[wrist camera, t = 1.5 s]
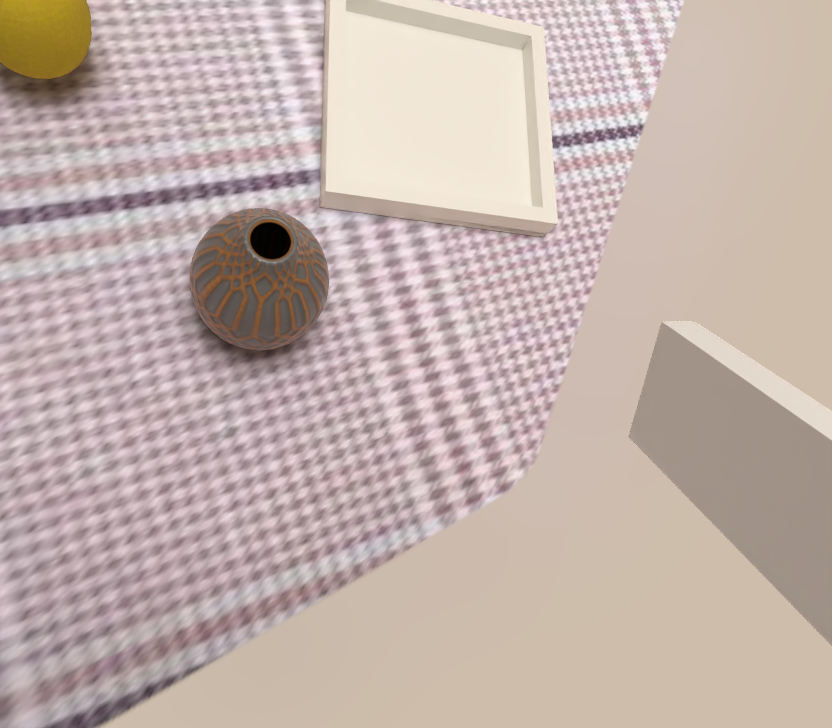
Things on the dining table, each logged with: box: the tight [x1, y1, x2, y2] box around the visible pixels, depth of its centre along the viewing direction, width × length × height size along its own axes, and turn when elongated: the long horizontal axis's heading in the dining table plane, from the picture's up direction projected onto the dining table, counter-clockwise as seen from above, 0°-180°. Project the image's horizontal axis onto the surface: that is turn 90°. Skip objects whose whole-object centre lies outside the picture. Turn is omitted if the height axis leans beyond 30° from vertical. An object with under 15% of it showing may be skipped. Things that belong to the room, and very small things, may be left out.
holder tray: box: [320, 0, 558, 237], centre depth 44 cm, size 15×15×2 cm
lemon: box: [0, 0, 92, 79], centre depth 34 cm, size 6×6×8 cm
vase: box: [190, 208, 329, 350], centre depth 34 cm, size 7×7×9 cm
